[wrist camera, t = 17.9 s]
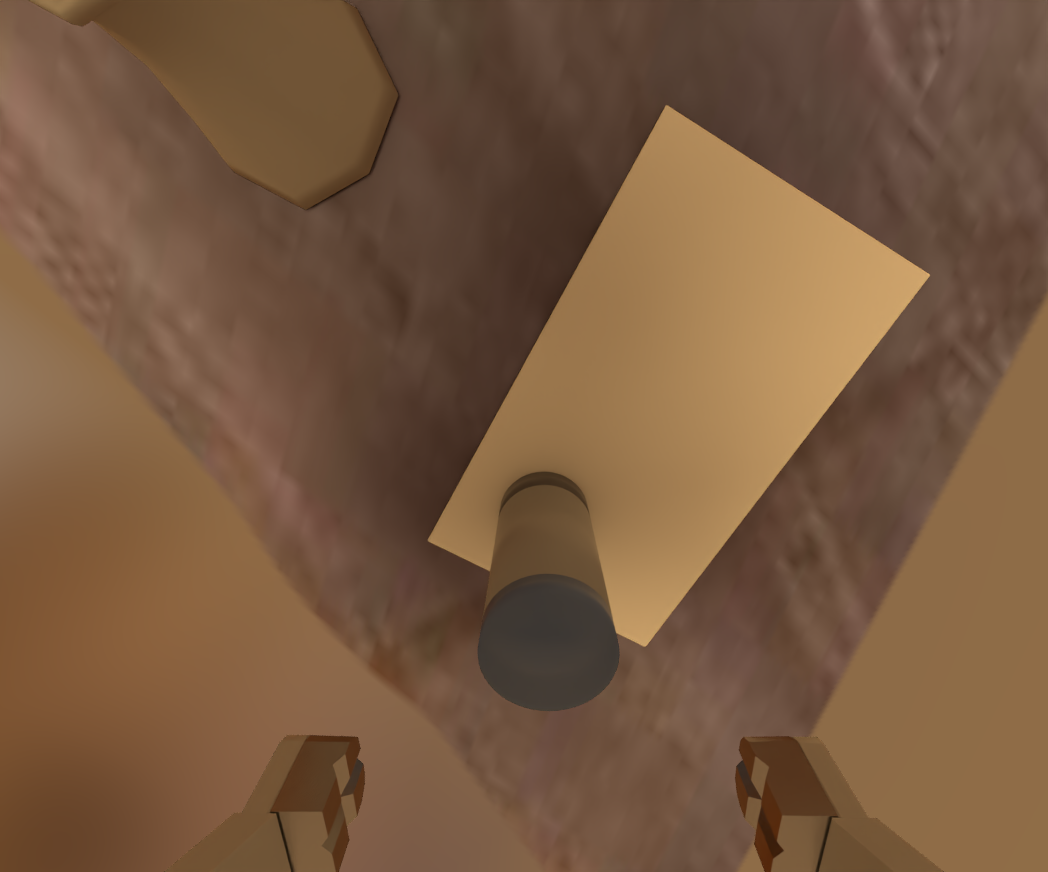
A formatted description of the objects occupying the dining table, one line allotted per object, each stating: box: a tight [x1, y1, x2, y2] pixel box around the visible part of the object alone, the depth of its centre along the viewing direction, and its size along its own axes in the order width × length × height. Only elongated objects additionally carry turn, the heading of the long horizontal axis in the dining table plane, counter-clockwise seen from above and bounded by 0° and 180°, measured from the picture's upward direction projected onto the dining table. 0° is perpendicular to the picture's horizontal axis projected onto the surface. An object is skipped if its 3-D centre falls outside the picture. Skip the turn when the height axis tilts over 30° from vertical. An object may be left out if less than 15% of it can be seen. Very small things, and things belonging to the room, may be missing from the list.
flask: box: [29, 0, 398, 210], centre depth 14 cm, size 7×7×10 cm
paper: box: [428, 105, 930, 647], centre depth 21 cm, size 20×12×1 cm, turn 151°
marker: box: [478, 472, 619, 711], centre depth 18 cm, size 4×4×9 cm
